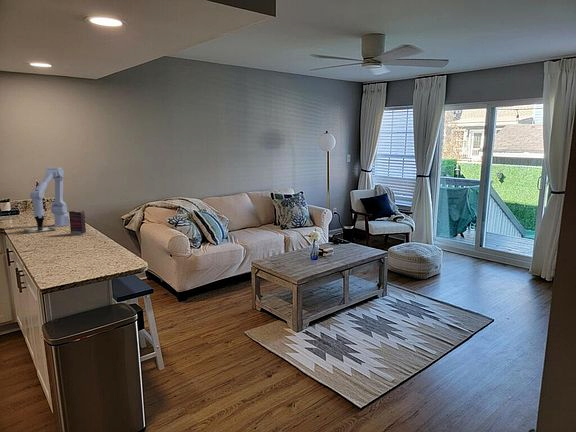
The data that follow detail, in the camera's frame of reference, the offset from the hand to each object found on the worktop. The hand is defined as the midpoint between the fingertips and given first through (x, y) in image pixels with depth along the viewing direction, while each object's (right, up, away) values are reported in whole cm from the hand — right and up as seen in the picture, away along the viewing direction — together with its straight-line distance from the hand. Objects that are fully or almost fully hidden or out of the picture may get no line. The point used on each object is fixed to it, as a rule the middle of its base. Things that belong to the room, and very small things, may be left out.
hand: (40, 226), depth 281 cm
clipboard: (-2, -3, +3) cm, 4 cm away
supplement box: (+31, -5, -6) cm, 32 cm away
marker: (0, -2, 0) cm, 2 cm away
